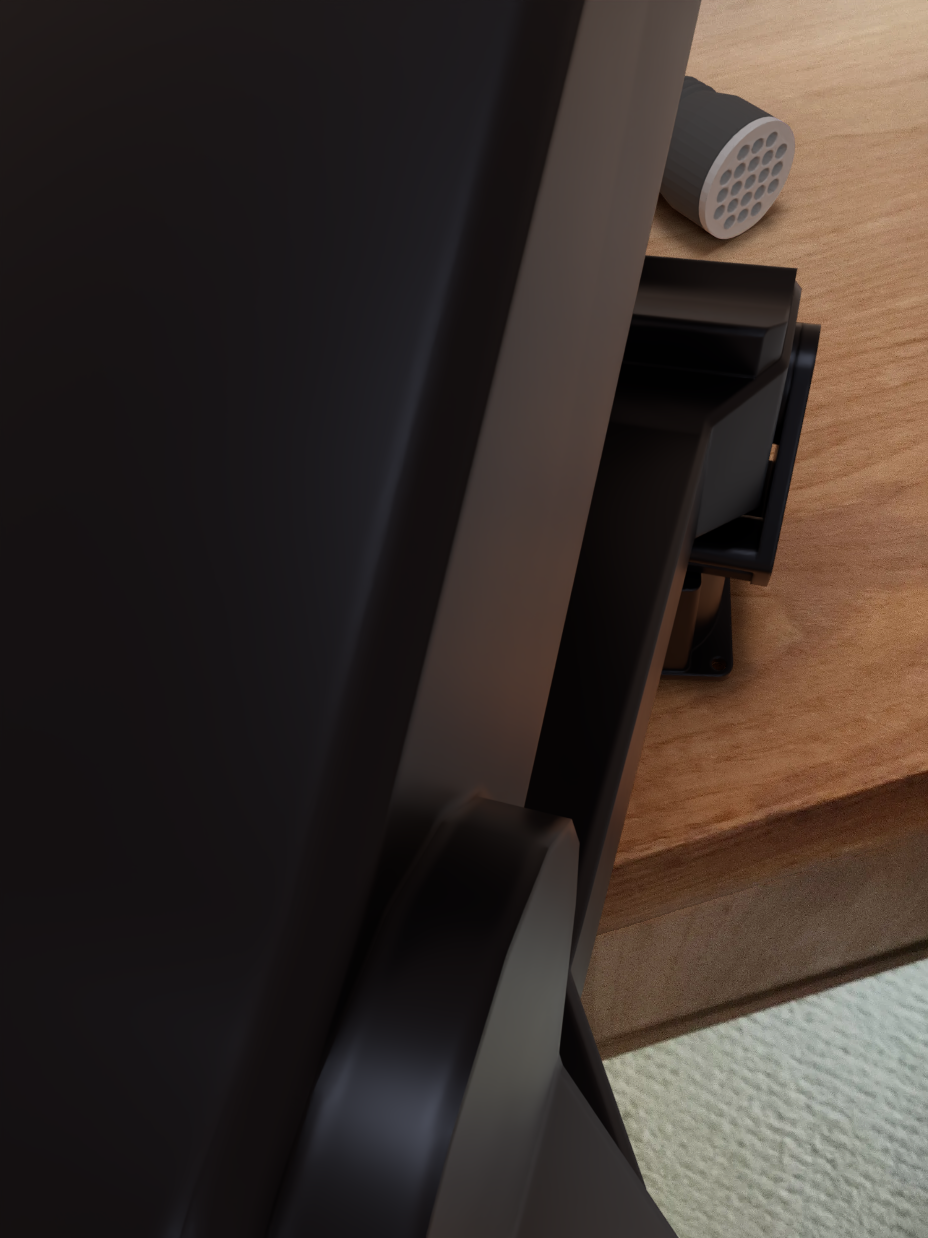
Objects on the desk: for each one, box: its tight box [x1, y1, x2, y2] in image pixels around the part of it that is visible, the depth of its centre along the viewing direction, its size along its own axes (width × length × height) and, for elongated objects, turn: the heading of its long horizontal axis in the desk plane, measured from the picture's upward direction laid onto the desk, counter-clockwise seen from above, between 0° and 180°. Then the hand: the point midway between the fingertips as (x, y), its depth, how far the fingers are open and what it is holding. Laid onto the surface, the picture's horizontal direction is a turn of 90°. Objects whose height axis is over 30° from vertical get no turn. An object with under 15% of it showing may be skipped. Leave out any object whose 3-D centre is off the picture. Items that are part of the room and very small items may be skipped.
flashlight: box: [659, 75, 796, 240], centre depth 48 cm, size 15×5×5 cm, turn 35°
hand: (358, 134), depth 32 cm, fingers open, 9 cm apart
